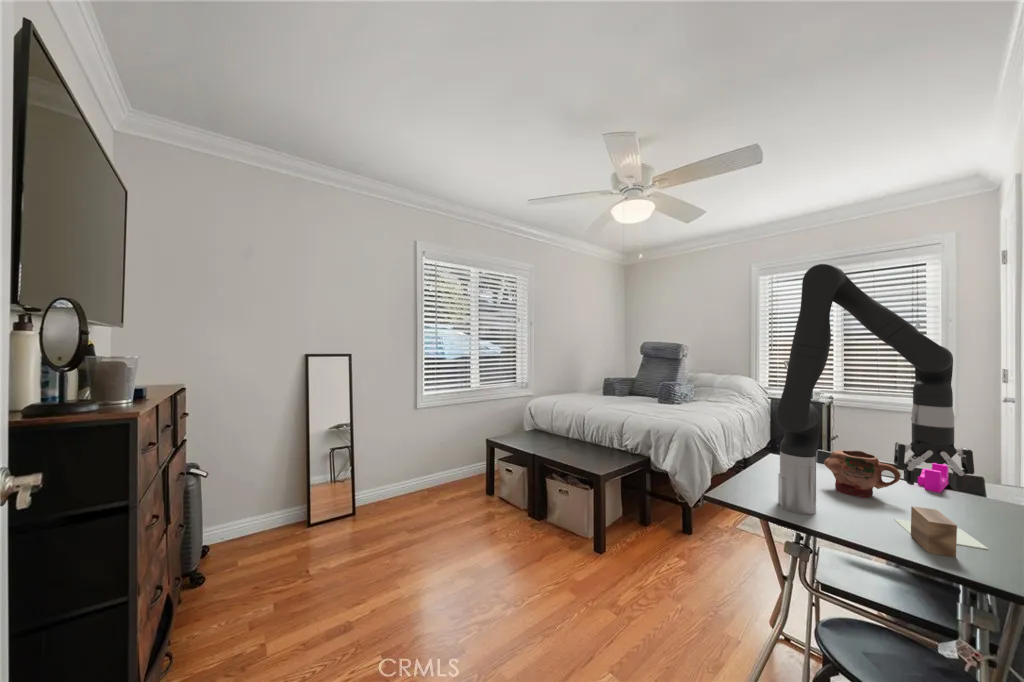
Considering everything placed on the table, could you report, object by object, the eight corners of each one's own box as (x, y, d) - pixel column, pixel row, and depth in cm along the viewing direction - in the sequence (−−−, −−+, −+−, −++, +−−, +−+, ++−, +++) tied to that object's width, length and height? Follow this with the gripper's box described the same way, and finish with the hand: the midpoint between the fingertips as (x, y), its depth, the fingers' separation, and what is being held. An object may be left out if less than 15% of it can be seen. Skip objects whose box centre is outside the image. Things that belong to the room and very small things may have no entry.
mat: (914, 538, 106) (914, 537, 106) (894, 520, 117) (894, 518, 117) (988, 550, 100) (988, 548, 100) (960, 530, 111) (960, 528, 111)
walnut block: (928, 553, 99) (929, 521, 99) (910, 535, 107) (911, 506, 107) (956, 557, 97) (956, 525, 96) (936, 539, 105) (936, 509, 105)
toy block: (924, 480, 152) (924, 460, 152) (948, 485, 147) (948, 464, 147) (914, 488, 144) (914, 467, 144) (939, 494, 139) (940, 472, 139)
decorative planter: (902, 498, 134) (902, 456, 134) (899, 508, 126) (899, 464, 126) (827, 482, 149) (827, 445, 149) (820, 490, 141) (820, 451, 141)
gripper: (902, 423, 102) (902, 487, 101) (980, 428, 96) (981, 496, 95) (889, 418, 108) (889, 478, 108) (962, 422, 102) (962, 486, 102)
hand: (932, 486), depth 102 cm, fingers open, 8 cm apart
